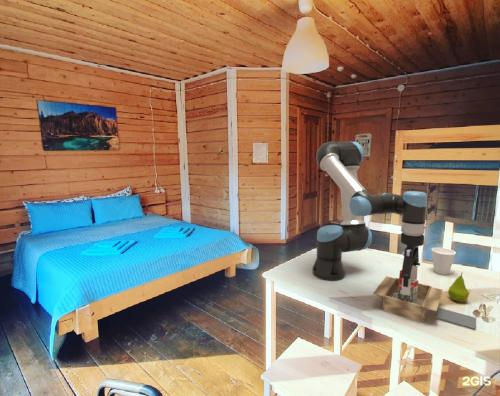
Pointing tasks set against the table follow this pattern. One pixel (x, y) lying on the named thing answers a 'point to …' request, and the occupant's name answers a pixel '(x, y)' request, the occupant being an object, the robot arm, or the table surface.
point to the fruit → (458, 290)
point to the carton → (404, 307)
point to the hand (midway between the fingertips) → (409, 287)
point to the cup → (442, 260)
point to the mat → (456, 318)
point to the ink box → (413, 291)
